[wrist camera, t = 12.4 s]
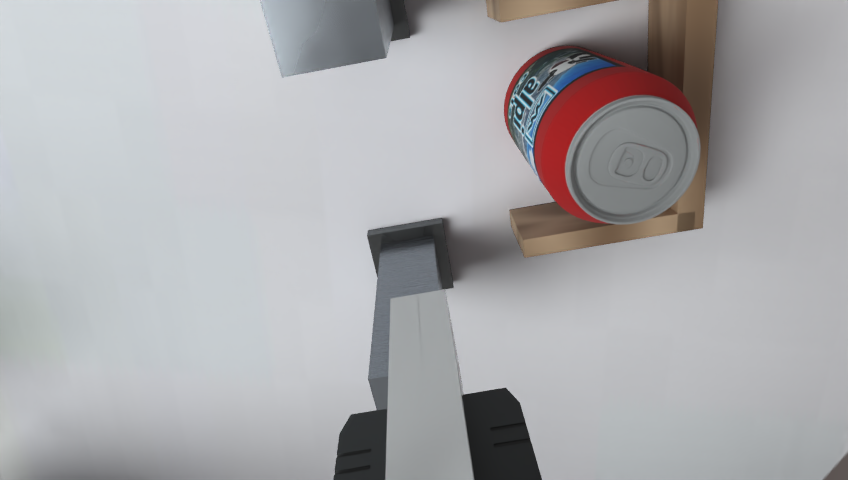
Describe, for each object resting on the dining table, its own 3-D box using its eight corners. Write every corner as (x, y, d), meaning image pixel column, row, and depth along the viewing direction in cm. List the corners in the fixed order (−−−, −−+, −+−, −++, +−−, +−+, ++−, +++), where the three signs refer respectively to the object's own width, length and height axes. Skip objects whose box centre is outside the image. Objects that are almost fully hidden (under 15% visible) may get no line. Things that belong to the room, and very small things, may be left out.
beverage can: (523, 28, 30) (590, 56, 19) (631, 61, 31) (751, 104, 20) (486, 141, 33) (526, 219, 22) (585, 168, 34) (670, 255, 23)
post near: (324, 52, 30) (266, 104, 18) (300, -46, 28) (215, -65, 16) (409, 36, 30) (413, 76, 18) (392, -64, 28) (381, -99, 15)
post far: (383, 293, 38) (372, 450, 25) (368, 230, 35) (347, 368, 23) (452, 281, 37) (476, 434, 25) (441, 217, 35) (461, 350, 23)
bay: (511, 226, 36) (524, 257, 32) (485, -7, 29) (498, -5, 25) (668, 199, 35) (702, 228, 31) (676, -44, 29) (721, -48, 25)
